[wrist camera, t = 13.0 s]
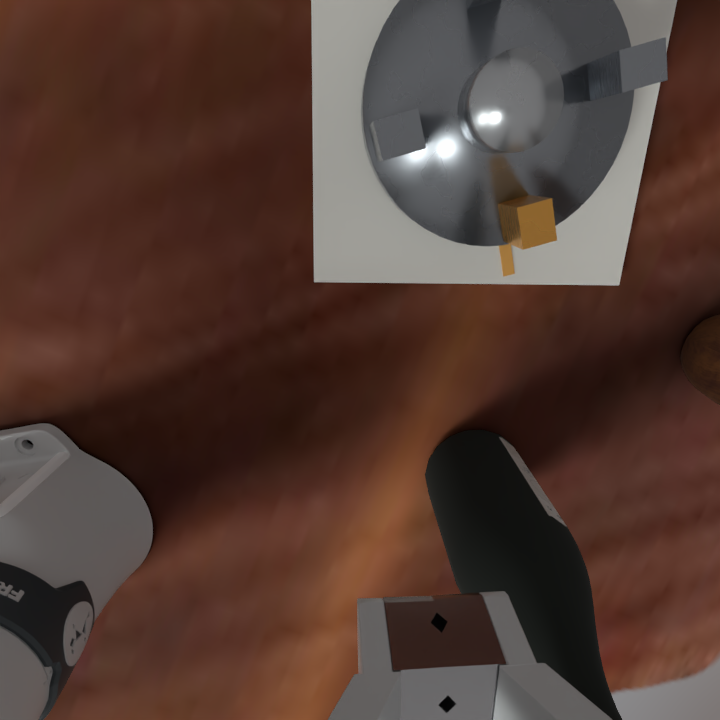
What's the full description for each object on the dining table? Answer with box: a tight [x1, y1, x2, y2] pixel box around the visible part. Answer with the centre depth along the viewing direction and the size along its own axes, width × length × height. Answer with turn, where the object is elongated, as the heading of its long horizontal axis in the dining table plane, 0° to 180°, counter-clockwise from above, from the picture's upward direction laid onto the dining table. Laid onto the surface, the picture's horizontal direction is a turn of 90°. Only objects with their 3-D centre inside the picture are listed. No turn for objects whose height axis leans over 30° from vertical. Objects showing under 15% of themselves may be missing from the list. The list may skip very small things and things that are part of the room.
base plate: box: [311, 0, 677, 285], centre depth 33 cm, size 22×22×2 cm
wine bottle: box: [425, 430, 622, 720], centre depth 29 cm, size 8×8×30 cm
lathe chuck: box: [361, 0, 668, 250], centre depth 29 cm, size 16×16×6 cm
